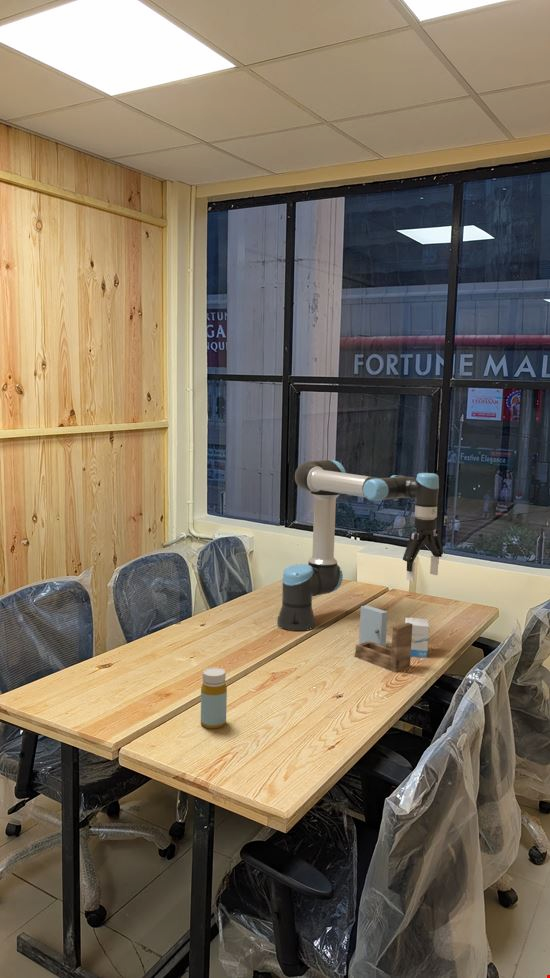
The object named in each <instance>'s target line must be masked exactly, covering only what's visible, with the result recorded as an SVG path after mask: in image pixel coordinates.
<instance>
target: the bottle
mask: <svg viewBox="0 0 550 978" xmlns="http://www.w3.org/2000/svg"><path fill="white" fill-rule="evenodd" d="M226 674H227V673H226V669H224V668H222V667H215V666H214V667H207V668H205V669H204V670H203V671H202V684H201V687H200V724H201V725H202V726H203V727H204V728H206V729H209V730H213V729H214V730H217V729H220V728H223V727H224V726H225V724H226V723H227V700H228V699H227V698H228V696H227V695H228V694H227V693H228V689H227V687H228V686H227V684H226V679H227V678H226V677H227V676H226Z"/></svg>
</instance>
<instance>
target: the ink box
mask: <svg viewBox="0 0 550 978" xmlns="http://www.w3.org/2000/svg"><path fill="white" fill-rule="evenodd" d="M429 620H430V619H427V618H419V617H405V620H404V623H411V624H412V642H411V657H417V658H428V653H429V652H428V651H429V636H430V635H429V633H430V621H429Z"/></svg>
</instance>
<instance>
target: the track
mask: <svg viewBox="0 0 550 978" xmlns="http://www.w3.org/2000/svg"><path fill="white" fill-rule="evenodd" d="M391 633H392V636H391V648H390V647H385V646H382V645H379V644H376V643H374V642H371V641H368V642H364V643H361V644H360V643H358V644H356V645H355V653H354V657H355V658H357V659H360V660H362V661H365V662H367V663H370V664H372V665H375V666H378V667H380V668H383V669H385V670H388V671H391V672H393V673H397V672H400V671H403V670H405V669H408V668H410V667H411V657H412V656H411V642H412V624H411V623H405V622H404V623H402V624H399V625H396V626H393V627H392V632H391Z"/></svg>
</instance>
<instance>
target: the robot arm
mask: <svg viewBox="0 0 550 978" xmlns="http://www.w3.org/2000/svg"><path fill="white" fill-rule="evenodd" d="M294 481H295V484H296V485H297V486H298V488H299V489H301V490H303V491H306V492H310V495H311V496H312V497H313V499H314V503H313V528H312V529H313V530H312V531H313V532H312V533H313V534H312V555H311V557H310V558H309V559H308V564H304V563H300V564H293V565H289V566H287V567H286V568H284V570H283V574H282V580H281V581H282V593H281V594H282V598H281V600H282V602H281V603H282V605H281V608H280V611H279V614H278V616H277V619H276V621H277V622H276V623H277V624H278V625H277V624H276V625H277V627H279V626H280V627H282V628H285V629H289V630H288V631H291V630H306V631H308V630H307V629H310V628H313V627H314V628H315V627H316V623H317V622H316V618H315V615H314V610H313V597H317V596H321V595H325V594H331V593H333V592H336V591H337V590H338V589H339V588H340V587H341V585H342V583H343V579H344V577H343V576H344V575H343V574H344V573H343V571H342V570H341V567H340V566H339V565H338V560H337V559H336V558H335V557H334V556H335V533H336V531H335V530H336V508H337V507H336V505H337V498H339V496H340V495H341V494H342V495H343V494H344V495H350V496H355V497H360V498H366V499H367V500H369V501H371V502H381V501H385V500H387V501H388V500H394V499H403V498H405V499H412V500H415V505H414V506H415V507H414V516H415V518H414V524H413V525H414V526H413V528H414V529H416V531H415V533H414V532H411V533H409V540H408V542H407V545H406V547H405V550H404V552H403V553H404V554H403V556H402V561H404V562H406V580H407V581H411V582H415V570H416V562H415V560H416V557H417V556H418V554H419V552H420V550H421V548H423V547H424V546H426V545H427V547H428V549H429V550H430V552H431V555H430V567H429V568H430V569H429V574H430V575H433V576H438V575H439V562H440V560H439V559H440V558H442V557H443V555H444V550H443V546H442V542H441V537H440V530H439V529H437V519H436V518H437V517H438V501H439V499H438V497H439V490H440V489H439V488H440V486H439V485H440V482H439V481H440V479H439V475H438V474H437V473H431V472H419V473H417V475H416V477H412V476H405V475H404V476H403V474H400V475H399V474H398V475H396V474H393V475H391V476H390V477H374V476H367V475H360V474H355V473H354V474H353V473H347V471H346V469H345V467H344V466H343V464H342V463H341V462H340V461H337V460H332V459H330V460H329V459H324V460H323V459H322V460H310V461H305V462H303V463H301V464H300V465H298V467H297V468H296V469H295V472H294ZM280 627H279V628H280ZM282 628H281V629H282ZM314 628H313V629H314ZM285 629H284V630H285ZM310 630H311V629H310Z"/></svg>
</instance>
